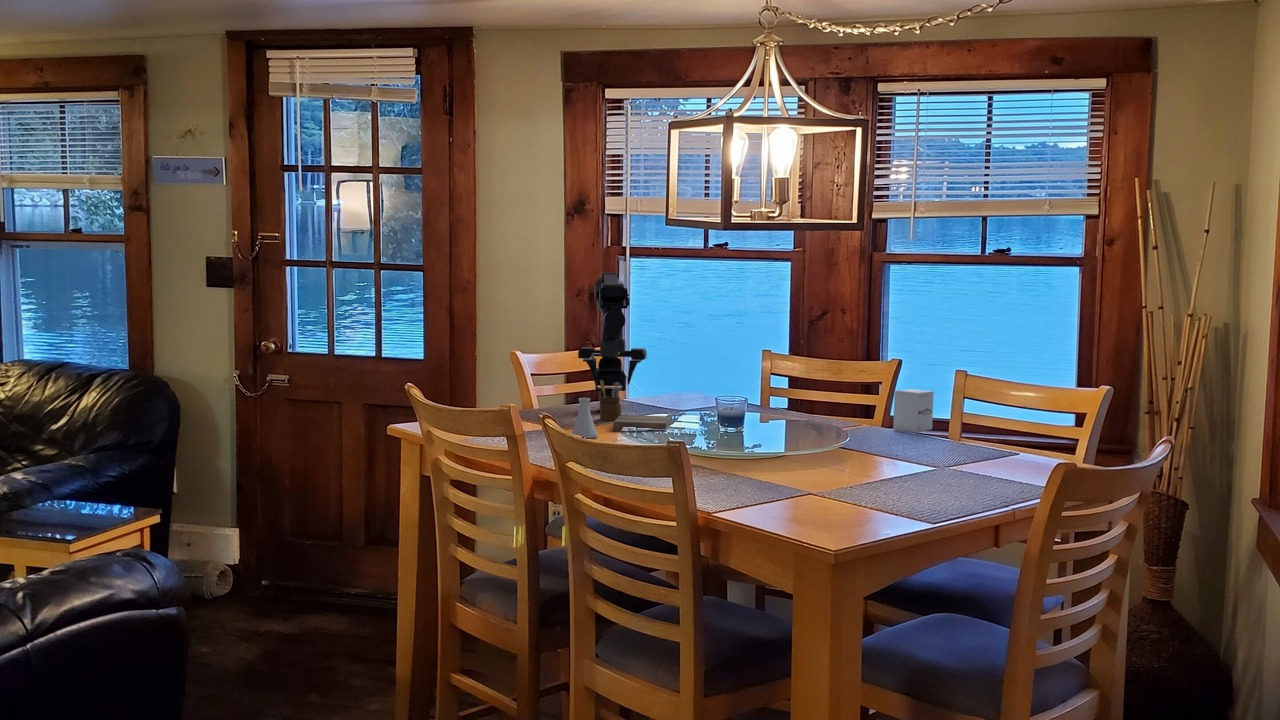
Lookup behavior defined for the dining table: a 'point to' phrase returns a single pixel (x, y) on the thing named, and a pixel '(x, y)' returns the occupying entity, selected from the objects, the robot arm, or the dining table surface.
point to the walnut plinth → (641, 422)
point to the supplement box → (913, 410)
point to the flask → (584, 420)
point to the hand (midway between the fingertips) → (612, 384)
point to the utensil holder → (609, 406)
